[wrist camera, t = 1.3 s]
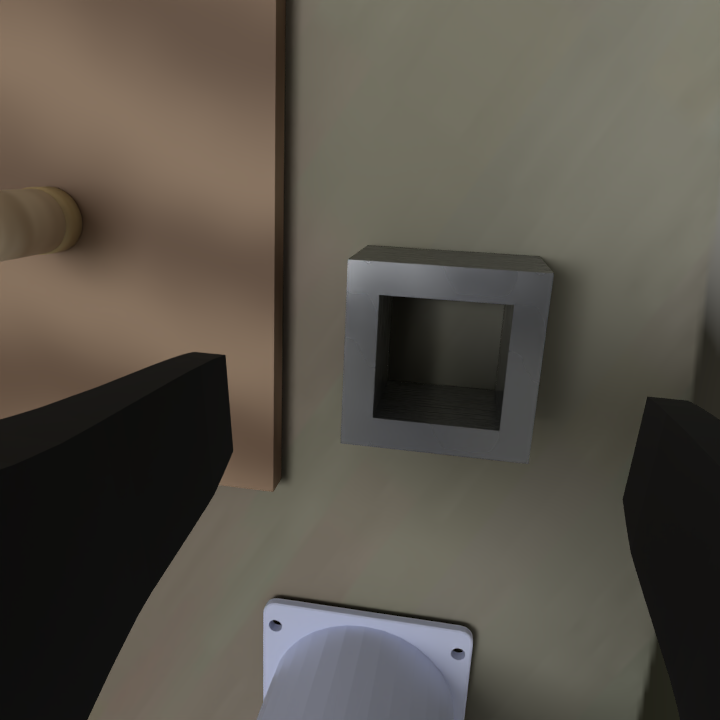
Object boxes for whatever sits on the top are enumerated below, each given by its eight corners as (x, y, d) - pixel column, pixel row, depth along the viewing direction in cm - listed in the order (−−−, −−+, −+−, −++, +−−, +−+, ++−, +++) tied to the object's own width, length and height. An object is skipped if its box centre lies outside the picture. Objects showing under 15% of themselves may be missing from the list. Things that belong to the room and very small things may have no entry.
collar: (519, 418, 21) (528, 463, 18) (360, 402, 22) (340, 443, 19) (539, 256, 20) (553, 273, 16) (367, 245, 20) (347, 259, 17)
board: (281, 478, 23) (220, 577, 18) (-80, 435, 26) (-237, 510, 20) (286, -90, 18) (203, -208, 13) (-169, -84, 20) (-415, -182, 15)
